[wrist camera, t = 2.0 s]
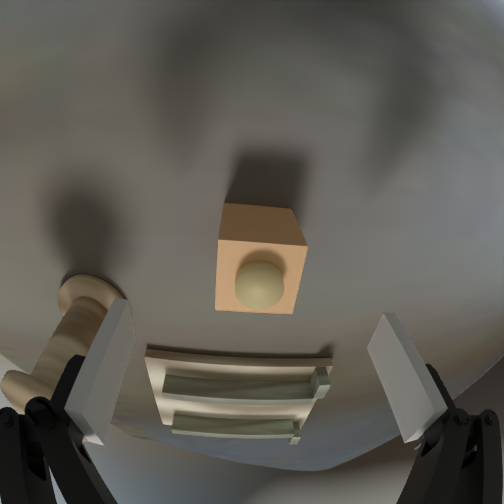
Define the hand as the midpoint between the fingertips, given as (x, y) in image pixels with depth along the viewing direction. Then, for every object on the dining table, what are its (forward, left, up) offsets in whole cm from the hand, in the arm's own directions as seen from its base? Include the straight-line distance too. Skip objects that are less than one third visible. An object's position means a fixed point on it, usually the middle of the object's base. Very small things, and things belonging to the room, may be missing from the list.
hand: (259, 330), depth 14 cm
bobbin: (+9, -15, -10) cm, 20 cm away
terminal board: (+22, 0, -10) cm, 24 cm away
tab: (0, 0, -10) cm, 10 cm away
